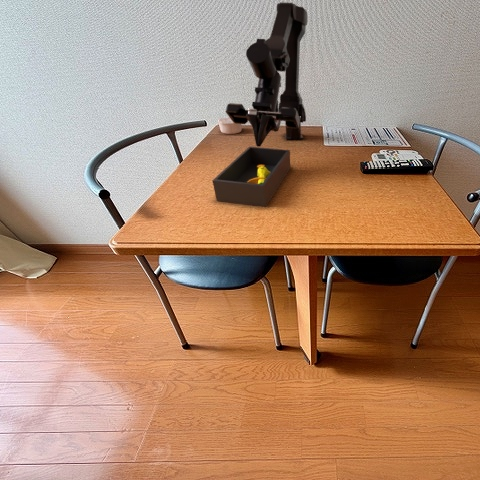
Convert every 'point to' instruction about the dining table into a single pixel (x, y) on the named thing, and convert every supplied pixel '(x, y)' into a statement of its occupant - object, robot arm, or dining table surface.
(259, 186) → the bin
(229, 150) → the dining table surface
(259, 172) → the toy figure
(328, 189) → the dining table surface
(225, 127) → the ramekin
